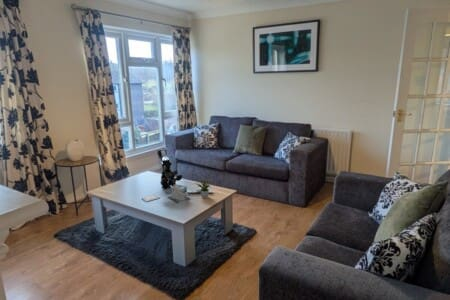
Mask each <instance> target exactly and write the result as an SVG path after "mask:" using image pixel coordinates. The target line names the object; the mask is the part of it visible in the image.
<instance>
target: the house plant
mask: <svg viewBox="0 0 450 300" xmlns="http://www.w3.org/2000/svg"><path fill="white" fill-rule="evenodd" d="M212 179H213V178H212V177H211V178H210V179H207V180H206V179H205V177H203V180H201V179H198V182H199V183H198V182H197V183H196V182H195V184H196V185H197V186H196V187H197V188H198V187H200V188H201V189H200V196H201V198H202V199H207V198H208V197H209V192H210V189H209V188H211V184H210V182H211V180H212Z"/></svg>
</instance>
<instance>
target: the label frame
mask: <svg viewBox="0 0 450 300" xmlns="http://www.w3.org/2000/svg"><path fill="white" fill-rule="evenodd" d="M167 198H168V199H169V200H171V201H173V202H174V203H176V204H179V203H180V202H179V201H178V200H177V199H172V195H171V196H170V195H169V196H168V197H167ZM186 199H187V200H192V199H191V197H189V196H187V198H186Z"/></svg>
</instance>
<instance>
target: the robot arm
mask: <svg viewBox="0 0 450 300" xmlns="http://www.w3.org/2000/svg"><path fill="white" fill-rule="evenodd" d="M167 152H168V151H167V149H165V148H160V149H158V150H157V152H156V154H157V156H158V159H160V164H161V170H162V172H161V176H160V186H161V188H163V189H165V190H166V189H170V188H171V189H172V186H174V185H175V184H177V183H176V182H178V181H181V180H182V178H183V175H182V174H178V170H176V169H175V170H173V171H172V169H171V168H172V164H173V163H172V161H171V160H170V158H169V157H168V156H167V155H168V153H167ZM177 174H178V175H177Z"/></svg>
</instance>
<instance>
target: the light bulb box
mask: <svg viewBox="0 0 450 300" xmlns="http://www.w3.org/2000/svg"><path fill="white" fill-rule="evenodd" d="M171 196H172V197H171V198H172V199H175V200H176V201H178V200H179V201H185V200H186V199H187V197H188V187H187V185H184V184H178V183H176V184H175V185H174V186H171Z"/></svg>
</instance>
